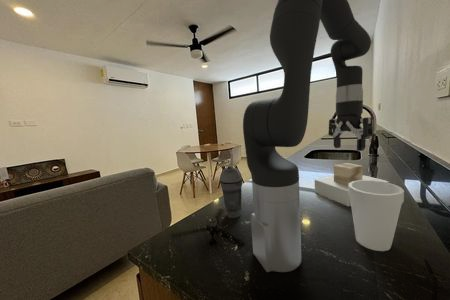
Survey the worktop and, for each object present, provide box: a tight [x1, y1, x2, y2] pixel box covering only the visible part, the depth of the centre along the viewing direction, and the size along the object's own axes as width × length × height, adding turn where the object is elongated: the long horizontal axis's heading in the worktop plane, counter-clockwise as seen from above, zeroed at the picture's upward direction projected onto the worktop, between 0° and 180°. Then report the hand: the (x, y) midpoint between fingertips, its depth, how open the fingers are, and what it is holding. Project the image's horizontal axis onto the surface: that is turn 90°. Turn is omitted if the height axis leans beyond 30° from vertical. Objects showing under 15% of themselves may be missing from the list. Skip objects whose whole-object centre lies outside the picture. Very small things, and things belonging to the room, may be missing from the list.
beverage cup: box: [219, 153, 244, 219], centre depth 60 cm, size 7×7×20 cm
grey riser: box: [314, 174, 390, 207], centre depth 69 cm, size 18×14×5 cm
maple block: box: [333, 162, 364, 186], centre depth 67 cm, size 6×6×6 cm
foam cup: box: [348, 180, 405, 252], centre depth 42 cm, size 10×9×13 cm
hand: (348, 149), depth 65 cm, fingers open, 8 cm apart
